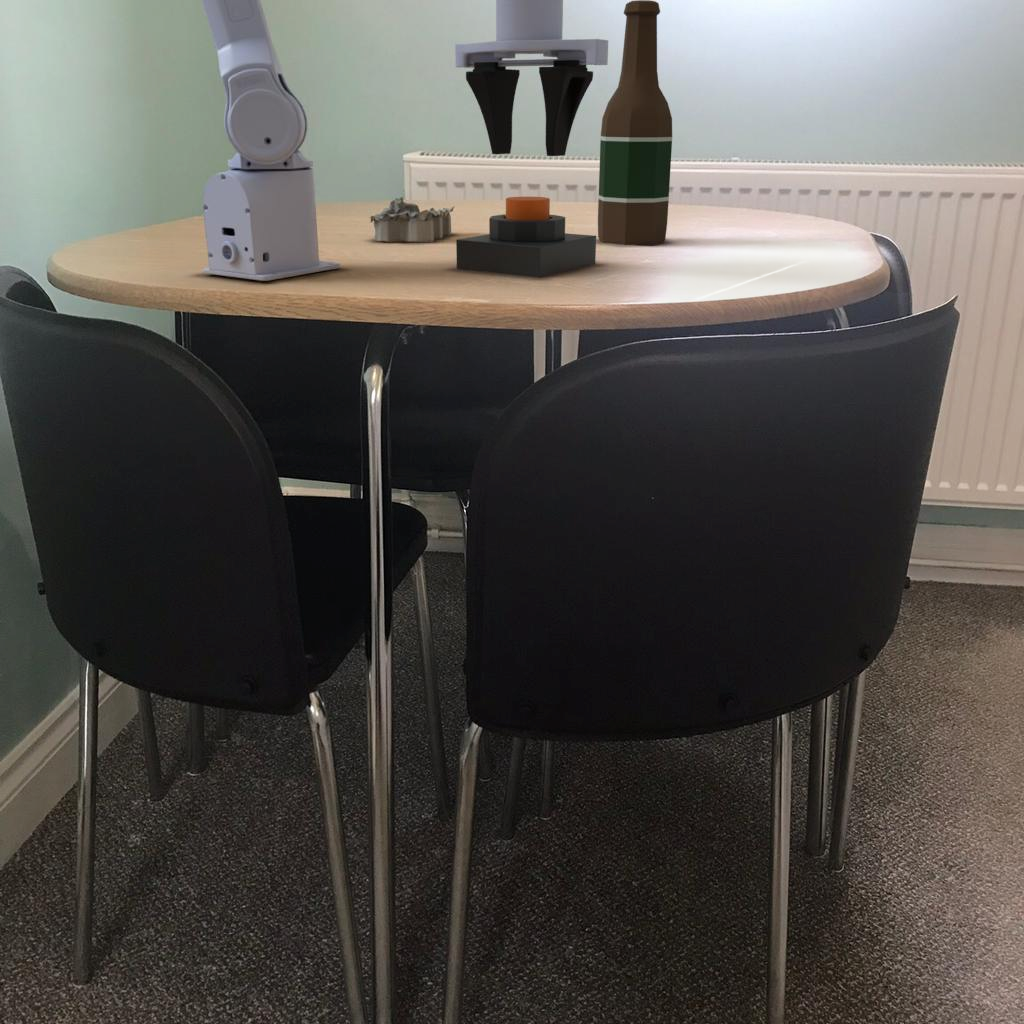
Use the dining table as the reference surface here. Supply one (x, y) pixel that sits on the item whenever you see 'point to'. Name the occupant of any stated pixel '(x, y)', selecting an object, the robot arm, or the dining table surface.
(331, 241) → the dining table surface
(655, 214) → the beer bottle
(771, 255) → the dining table surface
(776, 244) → the dining table surface
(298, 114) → the robot arm
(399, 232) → the egg carton
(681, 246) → the dining table surface
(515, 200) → the switch
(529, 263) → the button base
